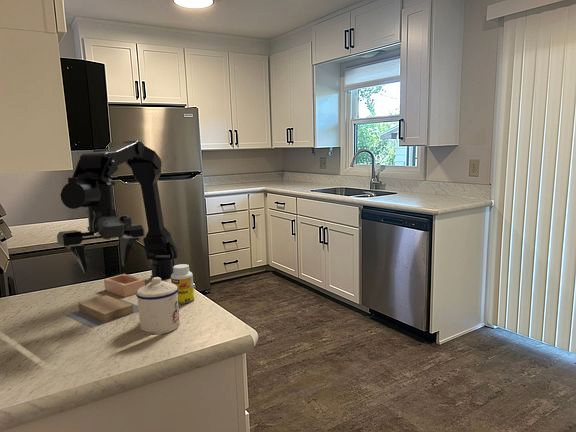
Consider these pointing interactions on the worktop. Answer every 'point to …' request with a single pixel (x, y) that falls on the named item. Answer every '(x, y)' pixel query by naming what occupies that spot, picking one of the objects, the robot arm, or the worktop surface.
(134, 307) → the rubber mat
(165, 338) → the worktop surface
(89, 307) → the tan flat block
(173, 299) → the teacup with lid
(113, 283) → the peach open box
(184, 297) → the supplement bottle
